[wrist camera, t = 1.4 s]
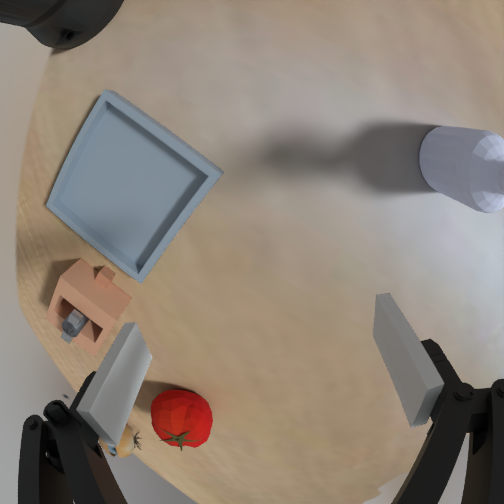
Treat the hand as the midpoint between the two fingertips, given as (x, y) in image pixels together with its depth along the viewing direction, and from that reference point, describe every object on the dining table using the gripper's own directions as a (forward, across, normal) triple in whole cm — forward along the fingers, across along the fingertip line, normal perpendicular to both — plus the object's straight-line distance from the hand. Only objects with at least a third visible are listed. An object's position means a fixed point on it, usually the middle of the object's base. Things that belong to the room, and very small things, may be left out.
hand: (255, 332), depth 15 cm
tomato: (+23, -18, -33) cm, 44 cm away
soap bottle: (+23, +26, +5) cm, 35 cm away
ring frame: (+22, -28, -9) cm, 37 cm away
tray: (+22, -16, +6) cm, 28 cm away
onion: (+22, -40, -45) cm, 64 cm away
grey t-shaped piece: (+22, -28, -9) cm, 37 cm away
